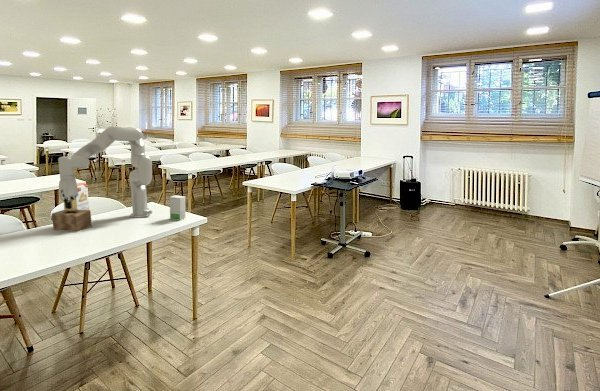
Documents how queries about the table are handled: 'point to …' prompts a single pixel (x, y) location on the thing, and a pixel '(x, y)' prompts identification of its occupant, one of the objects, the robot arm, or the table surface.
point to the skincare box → (177, 207)
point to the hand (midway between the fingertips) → (70, 207)
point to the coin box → (71, 220)
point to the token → (72, 204)
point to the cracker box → (82, 197)
